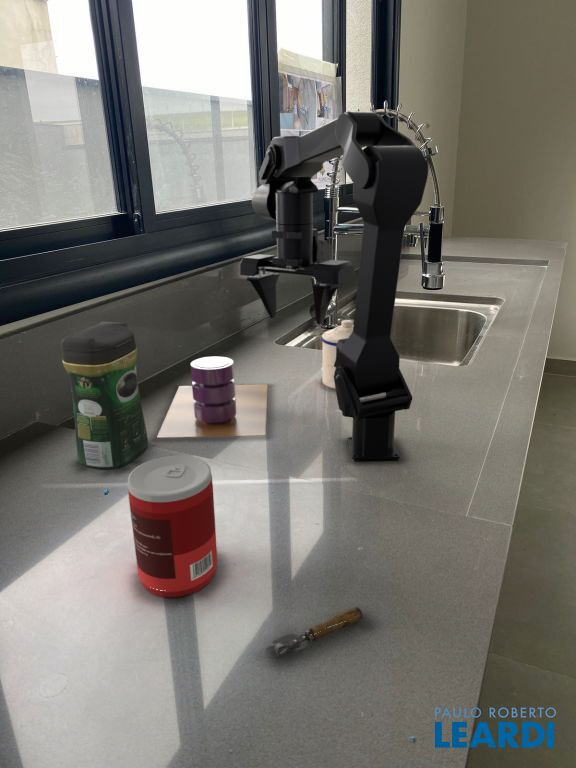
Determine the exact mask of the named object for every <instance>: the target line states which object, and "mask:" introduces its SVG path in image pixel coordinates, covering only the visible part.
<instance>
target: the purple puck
mask: <svg viewBox="0 0 576 768" xmlns="http://www.w3.org/2000/svg"><path fill="white" fill-rule="evenodd" d="M235 385H236V380H235V378H234V379H232V380H231V381H229V382H228V383H226V384H224V385H220V386H203V385H200V384H198V383H195V382H194V381H192V382H191V386H192V393H193V399H194V400H195V401H197V402H200V403H202V404H205V405H220V404H224V403H226V402H228V401H229V400H231V399H233V398H234V397H235Z"/></svg>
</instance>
